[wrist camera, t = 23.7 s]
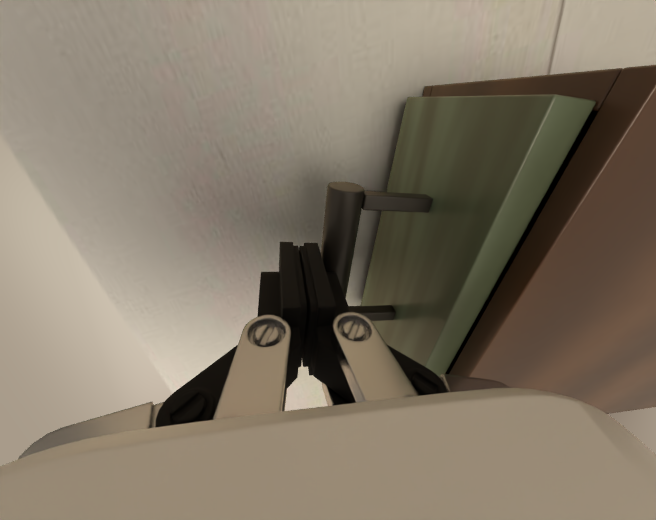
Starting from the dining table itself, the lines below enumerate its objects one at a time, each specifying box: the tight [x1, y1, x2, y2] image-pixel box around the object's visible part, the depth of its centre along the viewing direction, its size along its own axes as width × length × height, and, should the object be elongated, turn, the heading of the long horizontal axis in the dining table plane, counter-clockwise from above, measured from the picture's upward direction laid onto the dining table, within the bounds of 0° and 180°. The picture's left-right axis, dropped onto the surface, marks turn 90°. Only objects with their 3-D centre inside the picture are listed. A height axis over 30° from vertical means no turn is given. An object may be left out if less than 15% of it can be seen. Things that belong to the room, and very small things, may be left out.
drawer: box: [321, 94, 596, 376], centre depth 13 cm, size 19×13×8 cm
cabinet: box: [422, 65, 656, 414], centre depth 14 cm, size 16×15×10 cm
